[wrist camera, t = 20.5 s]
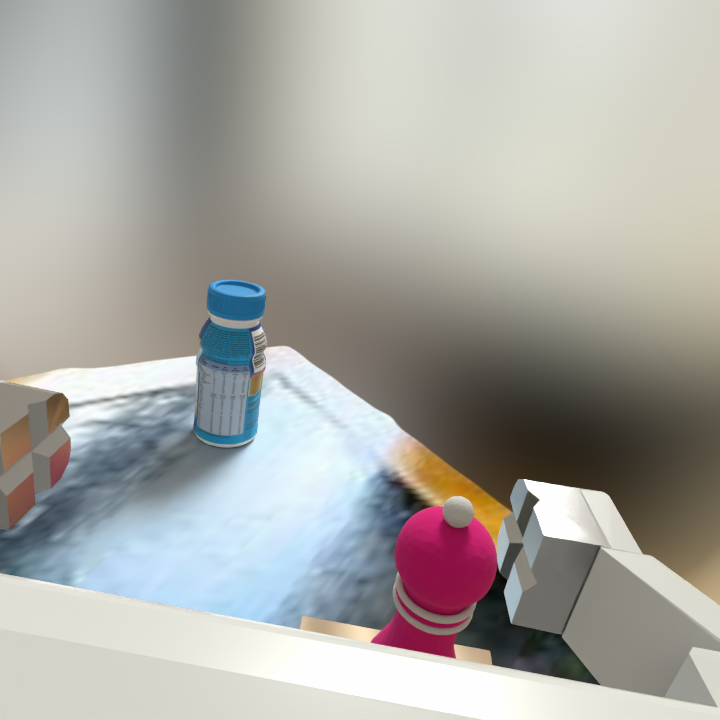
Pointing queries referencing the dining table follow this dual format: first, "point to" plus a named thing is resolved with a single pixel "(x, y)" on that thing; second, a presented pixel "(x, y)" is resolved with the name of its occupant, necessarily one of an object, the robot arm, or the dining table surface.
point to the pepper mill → (439, 577)
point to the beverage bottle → (230, 364)
